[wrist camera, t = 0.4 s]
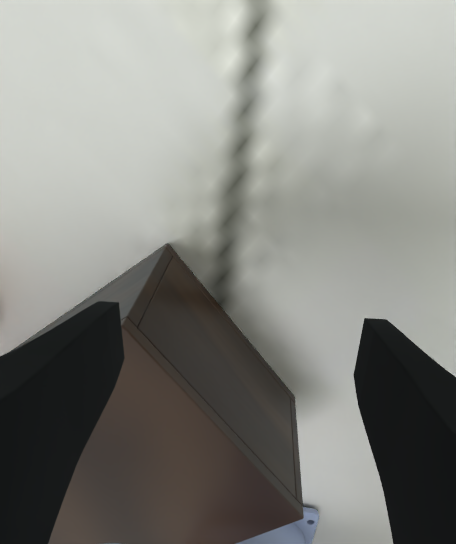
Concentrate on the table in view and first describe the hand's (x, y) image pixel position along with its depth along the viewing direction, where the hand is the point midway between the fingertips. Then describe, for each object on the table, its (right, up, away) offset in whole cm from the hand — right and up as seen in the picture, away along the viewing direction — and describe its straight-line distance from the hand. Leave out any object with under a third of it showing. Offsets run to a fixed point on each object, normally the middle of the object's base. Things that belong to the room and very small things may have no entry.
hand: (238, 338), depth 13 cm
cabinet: (-6, -5, +14) cm, 16 cm away
